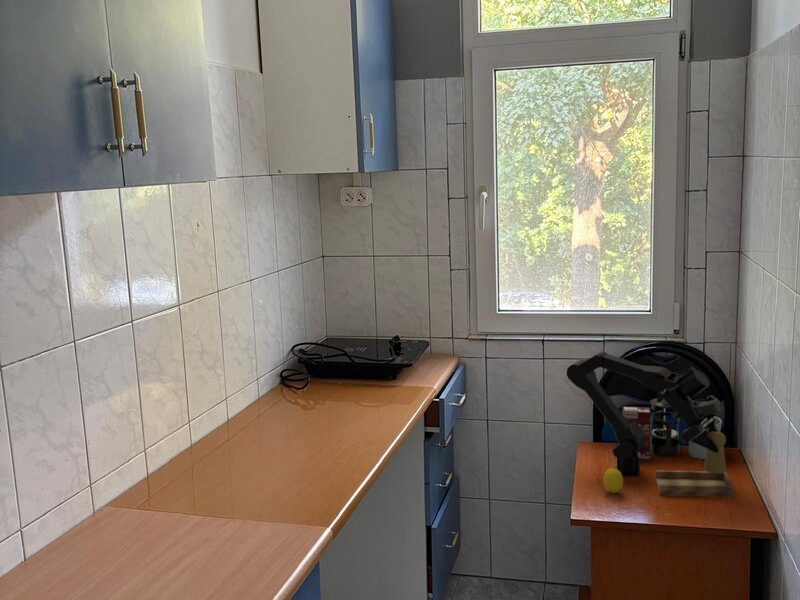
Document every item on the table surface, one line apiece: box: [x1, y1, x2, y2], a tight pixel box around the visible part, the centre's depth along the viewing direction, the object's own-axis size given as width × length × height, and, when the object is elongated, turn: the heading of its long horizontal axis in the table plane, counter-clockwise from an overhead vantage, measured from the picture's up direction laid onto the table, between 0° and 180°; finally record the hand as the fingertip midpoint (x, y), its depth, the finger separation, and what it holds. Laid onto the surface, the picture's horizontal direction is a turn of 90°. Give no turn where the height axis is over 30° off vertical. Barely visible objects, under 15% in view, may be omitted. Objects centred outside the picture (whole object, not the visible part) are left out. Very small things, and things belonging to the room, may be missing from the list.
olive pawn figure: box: [703, 431, 727, 474], centre depth 227 cm, size 6×6×11 cm
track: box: [655, 469, 735, 498], centre depth 232 cm, size 20×10×3 cm, turn 79°
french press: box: [649, 388, 681, 458], centre depth 257 cm, size 12×9×23 cm
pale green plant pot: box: [688, 416, 723, 460], centre depth 253 cm, size 10×10×12 cm
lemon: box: [602, 467, 624, 494], centre depth 231 cm, size 6×6×8 cm
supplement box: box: [622, 406, 652, 460], centre depth 255 cm, size 9×5×16 cm, turn 77°
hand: (720, 448), depth 226 cm, fingers closed on olive pawn figure, 5 cm apart
